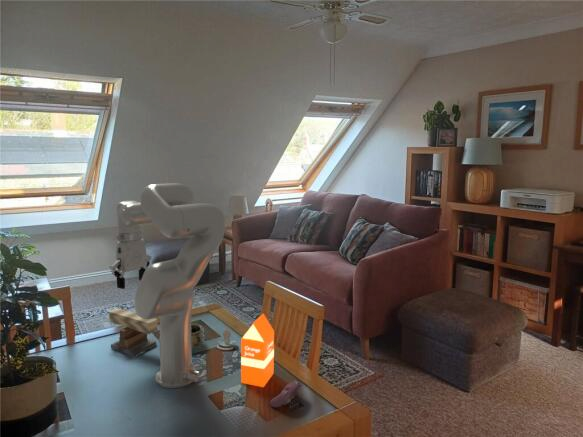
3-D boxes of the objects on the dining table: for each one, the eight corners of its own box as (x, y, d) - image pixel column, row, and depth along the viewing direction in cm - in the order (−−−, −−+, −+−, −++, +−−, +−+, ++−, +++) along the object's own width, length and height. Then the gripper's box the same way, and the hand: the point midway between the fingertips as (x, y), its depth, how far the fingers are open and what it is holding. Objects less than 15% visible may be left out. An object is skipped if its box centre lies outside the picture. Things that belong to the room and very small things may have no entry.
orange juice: (240, 382, 135) (240, 321, 132) (251, 369, 144) (252, 311, 140) (264, 387, 133) (264, 325, 130) (274, 373, 141) (275, 314, 138)
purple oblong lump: (279, 416, 122) (289, 399, 119) (267, 404, 123) (277, 387, 121) (297, 399, 130) (307, 382, 128) (285, 388, 132) (295, 372, 129)
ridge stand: (156, 345, 159) (155, 324, 158) (134, 356, 150) (133, 334, 149) (133, 337, 165) (132, 317, 163) (110, 348, 156) (109, 327, 155)
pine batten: (157, 330, 153) (157, 319, 153) (149, 334, 150) (148, 323, 149) (118, 318, 163) (117, 308, 162) (109, 322, 159) (108, 311, 159)
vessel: (210, 344, 161) (210, 328, 160) (193, 353, 154) (193, 336, 153) (187, 336, 167) (187, 320, 166) (170, 344, 160) (169, 328, 159)
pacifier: (231, 352, 155) (238, 345, 161) (230, 336, 154) (238, 329, 160) (212, 349, 157) (220, 342, 163) (212, 333, 156) (220, 326, 162)
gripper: (117, 242, 142) (119, 293, 145) (156, 233, 157) (158, 279, 160) (101, 240, 145) (104, 289, 148) (141, 231, 160) (143, 276, 163)
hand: (132, 284), depth 154 cm, fingers open, 9 cm apart
